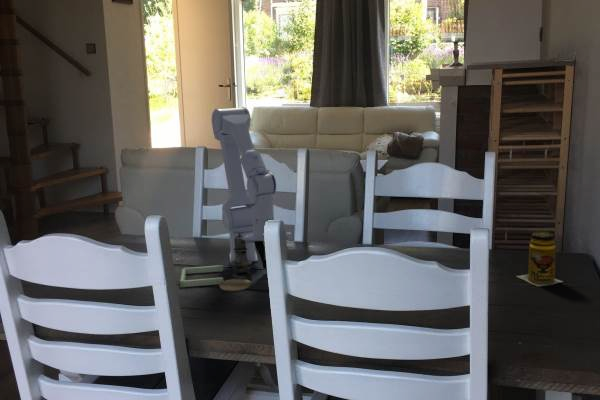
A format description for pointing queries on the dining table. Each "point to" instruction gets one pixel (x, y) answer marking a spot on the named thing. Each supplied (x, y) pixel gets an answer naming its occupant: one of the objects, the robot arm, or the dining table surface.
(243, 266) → the salt shaker
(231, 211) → the robot arm
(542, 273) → the condiment
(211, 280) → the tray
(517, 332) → the dining table surface
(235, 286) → the cork coaster
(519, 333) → the dining table surface
